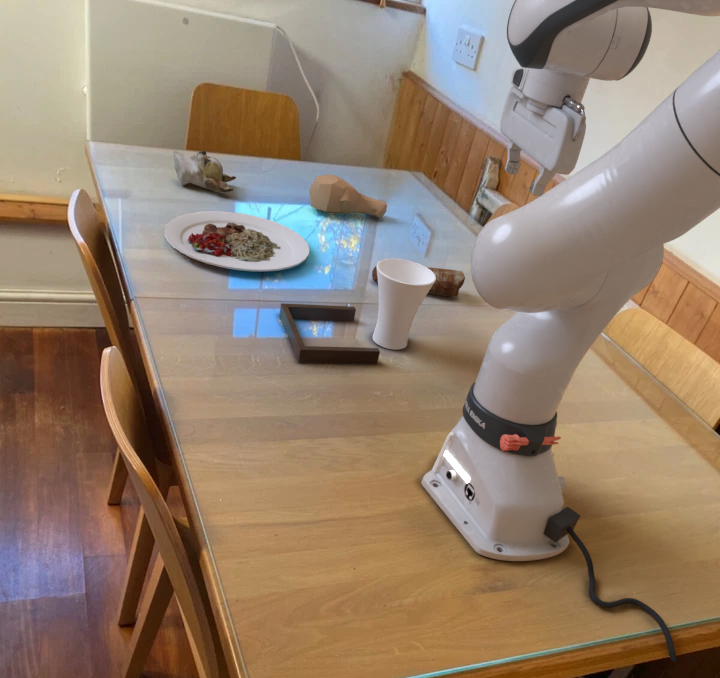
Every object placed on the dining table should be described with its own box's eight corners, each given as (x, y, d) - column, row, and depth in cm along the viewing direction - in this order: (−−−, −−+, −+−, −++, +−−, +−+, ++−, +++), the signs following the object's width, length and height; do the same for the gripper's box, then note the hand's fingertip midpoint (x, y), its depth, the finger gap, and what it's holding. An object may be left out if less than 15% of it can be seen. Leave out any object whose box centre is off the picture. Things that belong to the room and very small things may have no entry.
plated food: (333, 253, 155) (335, 238, 153) (256, 293, 133) (258, 276, 131) (222, 209, 163) (223, 195, 161) (132, 240, 140) (132, 223, 138)
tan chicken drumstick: (300, 203, 177) (309, 165, 173) (373, 221, 184) (383, 186, 180) (309, 211, 168) (318, 172, 164) (385, 230, 175) (395, 193, 171)
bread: (459, 303, 147) (466, 278, 144) (370, 286, 145) (375, 260, 142) (456, 290, 152) (463, 266, 149) (370, 274, 150) (375, 249, 147)
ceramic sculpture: (177, 137, 169) (239, 152, 172) (174, 174, 174) (234, 188, 177) (171, 150, 161) (236, 166, 164) (168, 188, 166) (231, 202, 169)
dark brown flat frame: (377, 364, 121) (380, 351, 119) (298, 362, 116) (300, 349, 114) (351, 318, 132) (354, 306, 131) (279, 315, 128) (280, 303, 126)
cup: (370, 355, 123) (386, 283, 114) (355, 325, 130) (369, 256, 122) (425, 356, 126) (445, 286, 118) (407, 328, 134) (424, 260, 125)
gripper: (607, 111, 97) (569, 210, 105) (543, 74, 111) (514, 164, 120) (569, 104, 95) (532, 206, 103) (508, 67, 109) (481, 159, 118)
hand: (522, 183), depth 112 cm, fingers open, 8 cm apart
